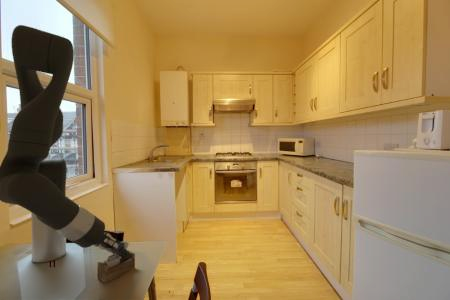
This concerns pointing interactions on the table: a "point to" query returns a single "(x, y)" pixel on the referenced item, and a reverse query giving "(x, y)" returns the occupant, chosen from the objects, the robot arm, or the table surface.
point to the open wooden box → (116, 268)
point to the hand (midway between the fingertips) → (123, 254)
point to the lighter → (114, 258)
